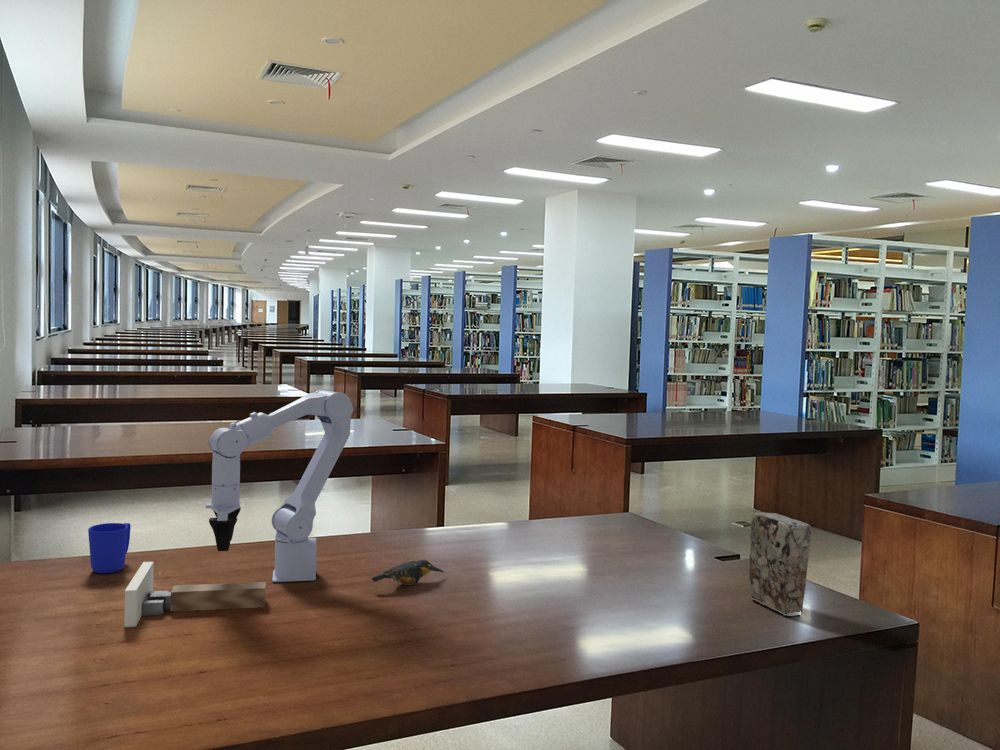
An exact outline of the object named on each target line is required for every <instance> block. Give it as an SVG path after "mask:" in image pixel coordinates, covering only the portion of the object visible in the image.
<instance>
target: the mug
mask: <svg viewBox="0 0 1000 750" xmlns="http://www.w3.org/2000/svg"><path fill="white" fill-rule="evenodd" d="M131 527H132V526H131V523H130V522H129V523H127V522H124V523H122V522H121V523H120V522H108V523H107V522H106V523H100V524H96V525H92V526H89V527H88V529H87V532H88V546H89V559H90V568H91V570H92V571H93V572H94V573H97V574H112V573H116V572H118V571H122V569H123V568H124V567H125V563H126V555H127V553H128V551H129V546H130V539H131Z"/></svg>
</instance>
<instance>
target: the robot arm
mask: <svg viewBox="0 0 1000 750" xmlns="http://www.w3.org/2000/svg"><path fill="white" fill-rule="evenodd" d="M353 412H354V407H353V404H352V402H351V399H350V397H349V396H348V395H347V394H346V393H344V392H341V391H339V392H338V391H332V390H329V389H324V388H321V389H317V390H316V391H315V392H310V393H307V394H306V395H304V396H301V397H300V398H299V399H296V400H294V401H293V402H291V403H288V404H286V405H284V406H282V407H280V408H278V409H277V410H275V411H273V412H270V413H269V414H267V413H264V412H256V411H253V412H251V413H249V417H247V418H245V419H242V420H240V421H238V422H235V421H233V422H231V423H229V427H220V428H217V429H215V430H214V431H213V433H211V435H210V437H209V440H207V443H208V446H209V448H210V450H211V451H212V462H211V502H209V503H208V502H207V503H205V509H210V510H212V511H213V513H214V516H215V517H210V518H209V519H208V522H209V525H210V527H211V530H212V532H213V534H214V539H215V545H216V549H217V552H229V550H230V545H231V542H232V540H233V539H232V538H233V537H234V536H233V535H234V531H235V527H236V524H237V522H238V516H239V513H240V512H241V509H242V507H241V502H240V500H241V499H240V497H241V496H240V495H241V494H240V489H241V487H240V486H241V479H240V478H241V477H240V476H241V454H242V453H243V452H244V450H245V448H248V447H250V446H252V445H255V444H256V443H259V442H261V441H263V440H265V439H267V438H270V437H271V436H272V435H273V434H274V432H275V429H276V428H278V427H281V426H283V425H285V424H287V423H289V422H292V421H295V420H297V419H300V418H302V417H304V416H309V415H310V416H316V417H317V419H318V420H319V421H320V423H321V426H322V429H323V431H324V434H323V436H322V438H321V440H320V442H319V443H318V445H317V448H316V449H315V452H314V453H313V455H312V458H311V459H310V461H309V463H308V465H307V467H306V469H305V470H304V473H303V474H302V477H301V479H300V480H299V482H298V483H297V486H296V487H295V490H294V491H293V493H292V494H291V495H289V496H287V497H286V498H285V499H284V501H283V503H282V504H281V505H280V506H279V507H278V508H277V509H276V510H274V512H273V514H272V516H271V525H272V528H273V529H274V530H276V531H275V532H276V533H275V536H274V537H275V540H274V541H275V542H274V543H275V544H274V569H273V570H272V579H271V582H273V583H279V582H280V583H282V582H283V583H284V582H287V583H288V582H305V581H307V582H310V581H316V578H317V575H316V574H317V572H316V571H317V570H318V561H317V538H316V537H309V536H310V535H311V533H312V531H313V528H314V527H313V526H314V519H315V517H316V515H317V509H316V501H317V500H318V498H319V496H320V494H321V492H322V490H323V488H324V486H325V484H326V482H327V480H328V478H329V476H330V475H331V472H332V471H333V468H334V467H335V465H336V462H337V461H338V459H339V457H340V455H341V453H342V451H343V449H344V448H345V445H346V443H347V442H348V439H349V437H350V434H351V421H352V414H353Z"/></svg>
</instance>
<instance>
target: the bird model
mask: <svg viewBox="0 0 1000 750" xmlns="http://www.w3.org/2000/svg"><path fill="white" fill-rule="evenodd" d="M431 572H439V573H445V571H444V570H442V569H440V568H439V567H436V566H434V565H433V563H431V562H430V561H428V560H426V559H420V560H412V561H408V562H404V563H401V564H399V565H396V566H394V567H391V568H389V569H387V570H385V571H383V573H379V574H377V575H374V576H372V577H371V578H370V579H369V580H370V581H372V582H373V583H376V582H378V581H381V580H383V579H392V581H393V583H395V582H396V583H397V584H402V585H406V586H412V585H413V584H418V582H419V581H420V579H422V578H423V577H424V576H427V574H430V573H431Z"/></svg>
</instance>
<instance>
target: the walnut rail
mask: <svg viewBox="0 0 1000 750" xmlns="http://www.w3.org/2000/svg"><path fill="white" fill-rule="evenodd" d="M266 587H267V582H266V581H257V582H255V581H254V582H253V581H252V582H233V583H232V582H231V583H230V582H228V583H226V582H225V583H210V584H209V583H206V584H182V585H181V584H180V585H179V584H177V585H173V587H172V589H171V591H168V592H156V593H151V595H150V600H164V610H170V611H171V613H173V612H172V611H179V612H195V610H200V611H216V609H220V610H233V608H234V610H237V609H236V608H240V609H256V608H257V609H259V608H258V607H260V608H266V599H267V597H266V595H267V590H266V589H267V588H266ZM170 611H169V612H170Z"/></svg>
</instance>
